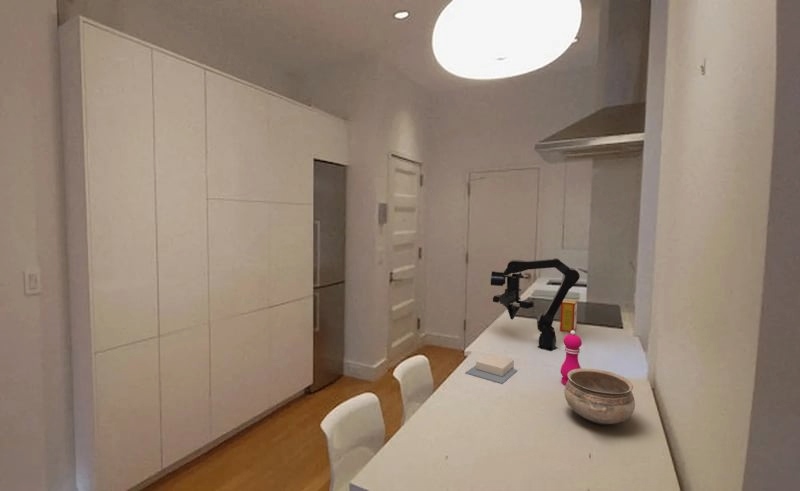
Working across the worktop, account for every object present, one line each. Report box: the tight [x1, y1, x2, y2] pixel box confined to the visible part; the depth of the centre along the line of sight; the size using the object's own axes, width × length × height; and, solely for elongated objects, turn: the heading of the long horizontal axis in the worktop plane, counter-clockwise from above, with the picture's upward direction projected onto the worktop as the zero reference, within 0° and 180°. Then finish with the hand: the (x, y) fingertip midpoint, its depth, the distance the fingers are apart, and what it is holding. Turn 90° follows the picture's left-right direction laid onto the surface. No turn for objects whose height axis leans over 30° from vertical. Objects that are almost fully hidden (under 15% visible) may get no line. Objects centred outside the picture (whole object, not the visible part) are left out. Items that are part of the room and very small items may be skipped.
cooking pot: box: [563, 367, 636, 426], centre depth 116 cm, size 25×19×12 cm
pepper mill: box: [559, 330, 583, 387], centre depth 140 cm, size 7×7×20 cm
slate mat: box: [465, 365, 518, 385], centre depth 151 cm, size 15×15×1 cm
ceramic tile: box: [475, 353, 515, 376], centre depth 153 cm, size 3×11×11 cm
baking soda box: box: [559, 298, 579, 333], centre depth 206 cm, size 10×6×16 cm
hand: (512, 319), depth 182 cm, fingers closed
